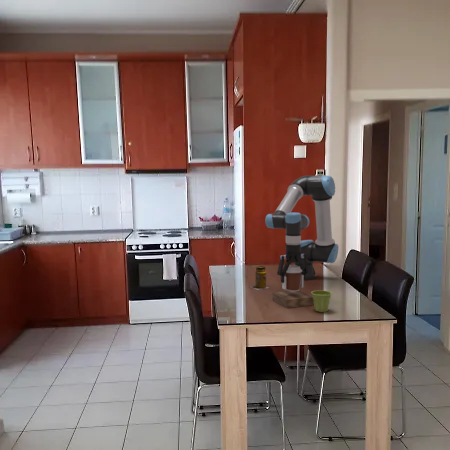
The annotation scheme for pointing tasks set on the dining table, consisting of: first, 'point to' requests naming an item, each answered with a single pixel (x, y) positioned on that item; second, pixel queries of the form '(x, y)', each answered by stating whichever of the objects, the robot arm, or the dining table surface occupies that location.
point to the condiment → (260, 278)
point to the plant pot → (321, 300)
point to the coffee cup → (293, 278)
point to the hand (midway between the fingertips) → (292, 288)
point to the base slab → (293, 299)
